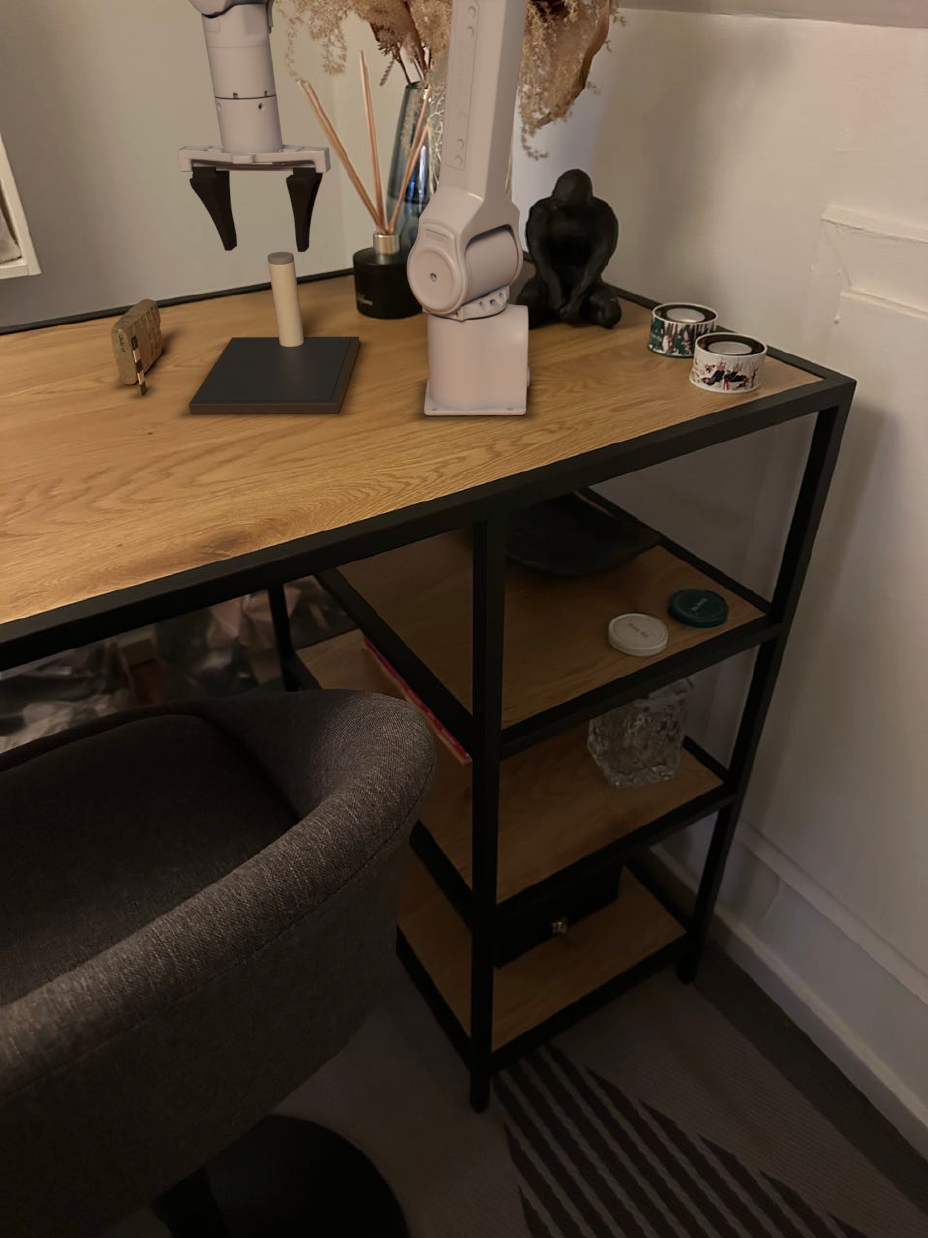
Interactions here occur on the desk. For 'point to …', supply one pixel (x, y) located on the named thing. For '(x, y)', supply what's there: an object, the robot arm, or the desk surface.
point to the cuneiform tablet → (137, 342)
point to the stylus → (286, 298)
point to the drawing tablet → (278, 377)
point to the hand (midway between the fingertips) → (267, 248)
